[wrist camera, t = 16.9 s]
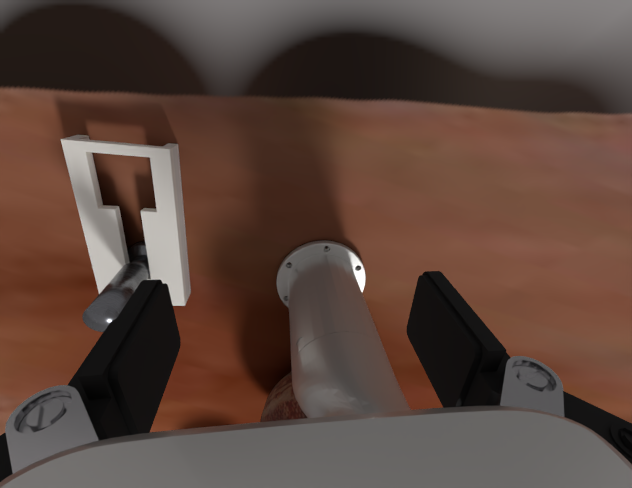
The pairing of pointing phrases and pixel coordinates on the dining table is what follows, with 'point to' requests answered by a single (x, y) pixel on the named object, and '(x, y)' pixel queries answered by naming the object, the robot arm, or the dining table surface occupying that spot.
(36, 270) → the dining table surface
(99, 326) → the peg
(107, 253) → the keyhole plate
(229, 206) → the dining table surface
